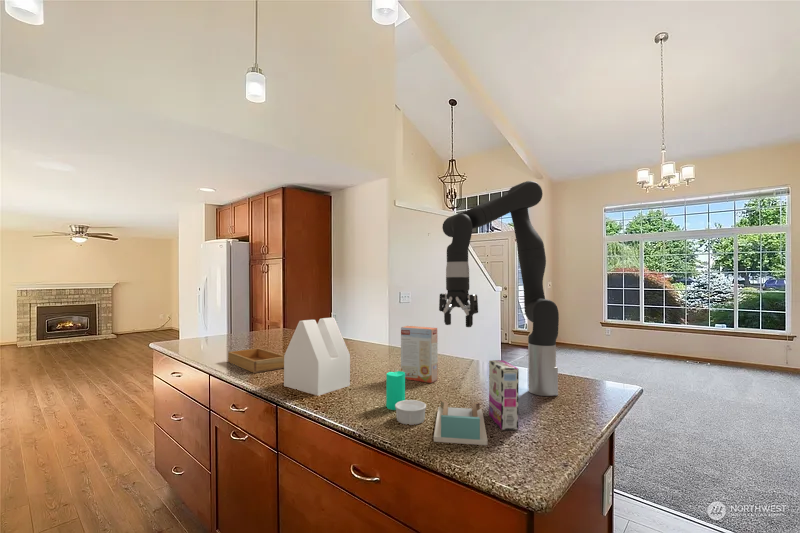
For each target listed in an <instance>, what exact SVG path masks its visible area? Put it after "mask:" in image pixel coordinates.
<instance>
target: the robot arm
mask: <svg viewBox="0 0 800 533" xmlns="http://www.w3.org/2000/svg"><path fill="white" fill-rule="evenodd" d="M542 199H543V189H542V186H541V185H540V184H539V183H538V182H537V181H533V180H527V181H524V182H522V183H521V182H520V183H518V184H516V185H514V186H511V188H510V189H508V192H507V194H504V195H502V196H499V197H496V198H494V199H491V200H490V199H489V200H487V201H485V202H482V203H480V204H477V205H475V206H473V207H471V208H469V209H467V210H466V211H465V210H464V211H462V212H459V213H457V214H453V215H451V216H449V217H446V219H445V220H443V223H442V228H441V229H442V232H443V233H444V234H445V236H447V237H448V238H449V237H450V238H452V239H451V243H450V244H449V245H448V246H447V247H446V265H445V267H446V268H445V291H447V293H444V292H443V293H439V301H438V302H439V304H438V311H439V312H442V313H443V314H444V316H443V317H444V318H443V319H444V320H443V323H444V325H446V326H451V325H452V313H451V312H452V311H453V309H455V308H460V309H461V310H463V312H464V313H465V327H466V328H472V327H473V324H474V323H473V321H474V318H473V316H474V315H475V314H478V313H479V304H478V303H479V302H478V301H479V300H478V294H473V293H471V294H469V291H470V266H469V247H470V243H471V239H472V236H473V235H472V233H473V229H478V228H481V227H483V226H485V225H487V224H490V223H492V222H494V221H496V220H498V219H500V218H502V217H504V216H506V215H509V214H510V216H511V219H512V224H513V230H514V235H515V241H516V247H517V248H516V250H517V256H518V262H519V263H518V264H519V268H520V274H521V281H522V287H523V304H524V305H523V306H524V307H523V308H524V313H525V316H526V318H527V320H529V322H531V323H532V332H531V333H530V334H529V335H528V338H527V341H528V342H527V343H528V346H527V348H528V359H527V360H528V392H529V393H530V394H532V395H536V396H542V397H552V396H559V371H558V370H559V369H558V366H557V346H556V345H557V339H558V336H559V324H560V323H559V320H560V319H559V318H560V314H559V309H558V306H557V304H556V303H555V302H554V301H553V300H551V299H547V298H546V297H545V291H544V275H545V272H546V266H547V257H546V255H547V254H546V251H545V245H544V241H543V239H542V238H541V236H540V235H539V233H538V232H537V231H536V229H535V228H534V225H533V224H532V222H531V219H530V214H529V208H533V207H535V206H536V205H538V204H540V203H541V201H542Z"/></svg>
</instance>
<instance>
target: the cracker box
mask: <svg viewBox="0 0 800 533" xmlns="http://www.w3.org/2000/svg"><path fill="white" fill-rule="evenodd" d="M438 344H439V343H438V327H427V326H426V327H425V326H415V325H414V326H413V325H405V326H401V327H400V371H402V372H405V380H410V381H415V382H422V383H426V384H427V383H428V384H432V383H435V382H436V381H438V374H439V372H438V371H439V370H438V365H439V363H438V359H439V358H438V350H439V349H438Z"/></svg>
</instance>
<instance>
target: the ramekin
mask: <svg viewBox="0 0 800 533" xmlns="http://www.w3.org/2000/svg"><path fill="white" fill-rule="evenodd" d="M395 408H396V410H395V412H396V421H397V422H399V423H400V424H402V425H407V424H409V425H408V426H411V425H414V424H415V425H420V424H421V423H423V422H424V421H425V419H426V418H425V417H426V409H427V404H426V403H425V402H423V401H421V400H416V399H405V400H403V401H400V402H397V403H396V404H395ZM415 425H414V426H415Z"/></svg>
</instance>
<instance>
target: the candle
mask: <svg viewBox="0 0 800 533" xmlns="http://www.w3.org/2000/svg"><path fill="white" fill-rule="evenodd" d="M385 375H386V378H385V380H386V381H385V382H386V384H385V386H386V391H385V396H386V400H385V408H386V407H387V408H386V409H388V410H391V411H396V408H395V404H396V403H397V402H400V401H403V400H406V379H405V372H402V371H401V370H398V371H397V370H396V371H389V372H387V373H386V374H385Z"/></svg>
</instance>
